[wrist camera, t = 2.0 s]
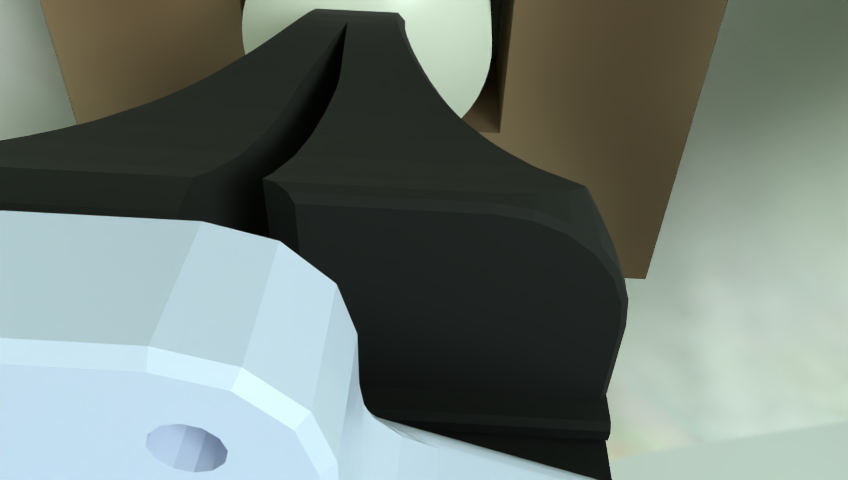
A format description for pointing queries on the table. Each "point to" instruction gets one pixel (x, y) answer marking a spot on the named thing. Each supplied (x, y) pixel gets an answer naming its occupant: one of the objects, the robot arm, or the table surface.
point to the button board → (494, 107)
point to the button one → (426, 30)
